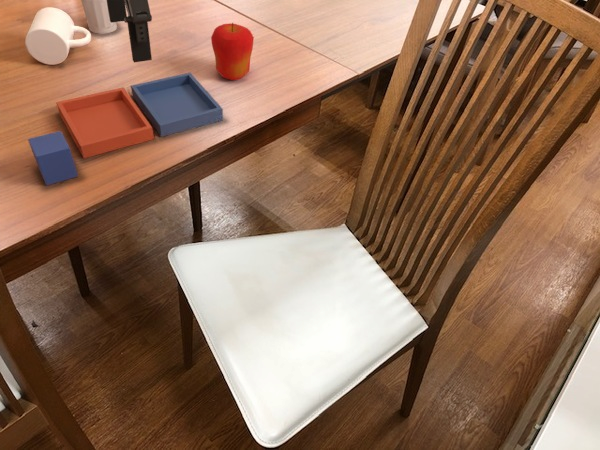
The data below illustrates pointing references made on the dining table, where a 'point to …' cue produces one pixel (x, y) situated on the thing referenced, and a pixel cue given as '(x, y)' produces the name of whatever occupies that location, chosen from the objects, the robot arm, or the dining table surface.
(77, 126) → the red tray
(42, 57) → the mug
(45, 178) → the block
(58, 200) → the dining table surface
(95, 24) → the cup
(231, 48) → the apple
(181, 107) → the blue tray
